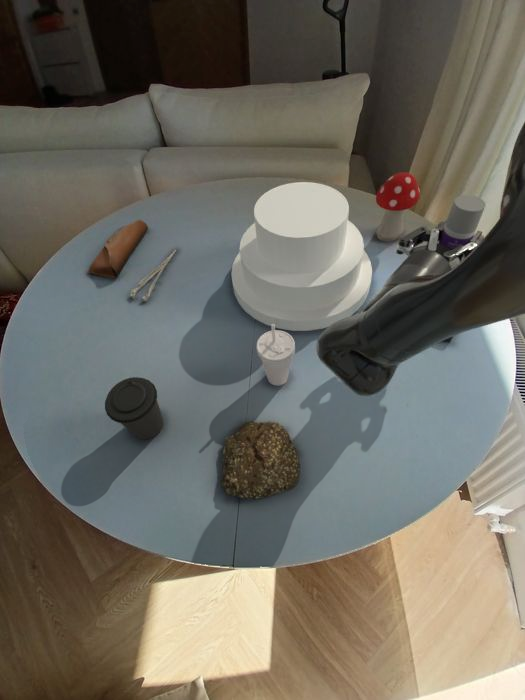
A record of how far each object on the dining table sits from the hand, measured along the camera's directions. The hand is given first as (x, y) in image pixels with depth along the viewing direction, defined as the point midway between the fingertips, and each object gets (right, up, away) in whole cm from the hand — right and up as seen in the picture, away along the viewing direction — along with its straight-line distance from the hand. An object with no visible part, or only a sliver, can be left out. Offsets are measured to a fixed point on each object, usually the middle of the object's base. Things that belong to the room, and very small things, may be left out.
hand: (462, 230), depth 66 cm
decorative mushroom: (-3, +7, +28) cm, 29 cm away
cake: (-25, -4, +21) cm, 33 cm away
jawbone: (-58, -3, +25) cm, 63 cm away
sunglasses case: (-69, +4, +31) cm, 75 cm away
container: (-1, -7, +6) cm, 9 cm away
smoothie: (-31, -25, +6) cm, 40 cm away
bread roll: (-34, -38, -3) cm, 51 cm away
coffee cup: (-53, -33, +2) cm, 63 cm away
